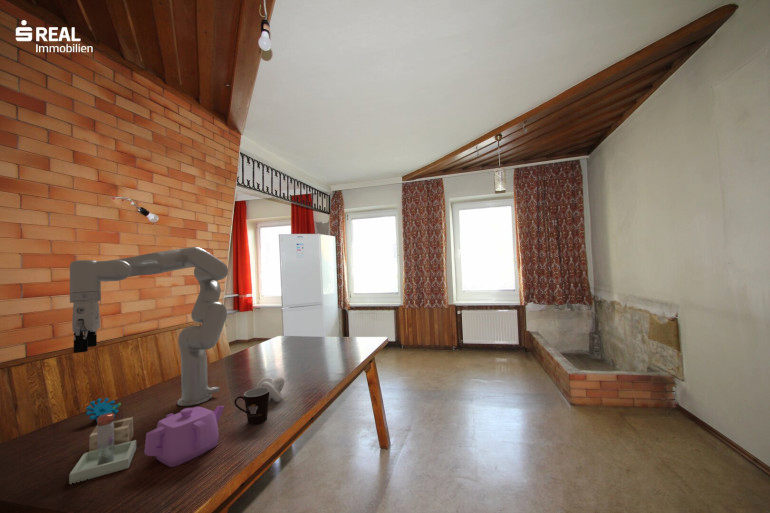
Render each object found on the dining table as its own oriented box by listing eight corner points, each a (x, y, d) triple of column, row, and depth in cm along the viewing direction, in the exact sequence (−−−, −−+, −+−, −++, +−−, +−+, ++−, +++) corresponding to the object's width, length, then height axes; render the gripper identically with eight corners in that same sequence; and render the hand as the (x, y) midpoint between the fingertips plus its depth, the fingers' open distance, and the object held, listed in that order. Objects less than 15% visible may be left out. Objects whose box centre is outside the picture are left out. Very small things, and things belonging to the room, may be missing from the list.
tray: (136, 448, 97) (136, 439, 97) (128, 468, 87) (128, 458, 87) (84, 461, 91) (84, 452, 91) (69, 484, 81) (69, 474, 81)
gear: (91, 423, 113) (84, 400, 117) (83, 434, 114) (75, 411, 118) (126, 414, 123) (118, 393, 127) (118, 424, 124) (110, 403, 128)
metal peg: (115, 457, 92) (115, 411, 92) (112, 463, 89) (112, 416, 89) (99, 461, 90) (99, 415, 91) (95, 467, 87) (95, 419, 87)
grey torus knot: (273, 393, 138) (272, 372, 138) (293, 397, 132) (292, 375, 133) (251, 403, 128) (250, 381, 128) (272, 408, 122) (271, 384, 123)
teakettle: (140, 474, 84) (139, 427, 85) (167, 441, 100) (167, 402, 101) (210, 461, 88) (209, 417, 89) (225, 432, 105) (224, 395, 105)
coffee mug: (275, 417, 114) (274, 389, 115) (256, 428, 106) (256, 398, 107) (252, 412, 119) (251, 385, 120) (232, 422, 111) (232, 394, 112)
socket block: (133, 435, 106) (133, 416, 106) (127, 447, 98) (127, 427, 98) (98, 443, 101) (97, 424, 102) (89, 457, 94) (89, 436, 94)
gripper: (92, 297, 99) (93, 352, 98) (107, 295, 114) (107, 343, 113) (59, 299, 95) (59, 356, 94) (79, 297, 110) (79, 346, 109)
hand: (85, 349), depth 103 cm, fingers open, 9 cm apart
